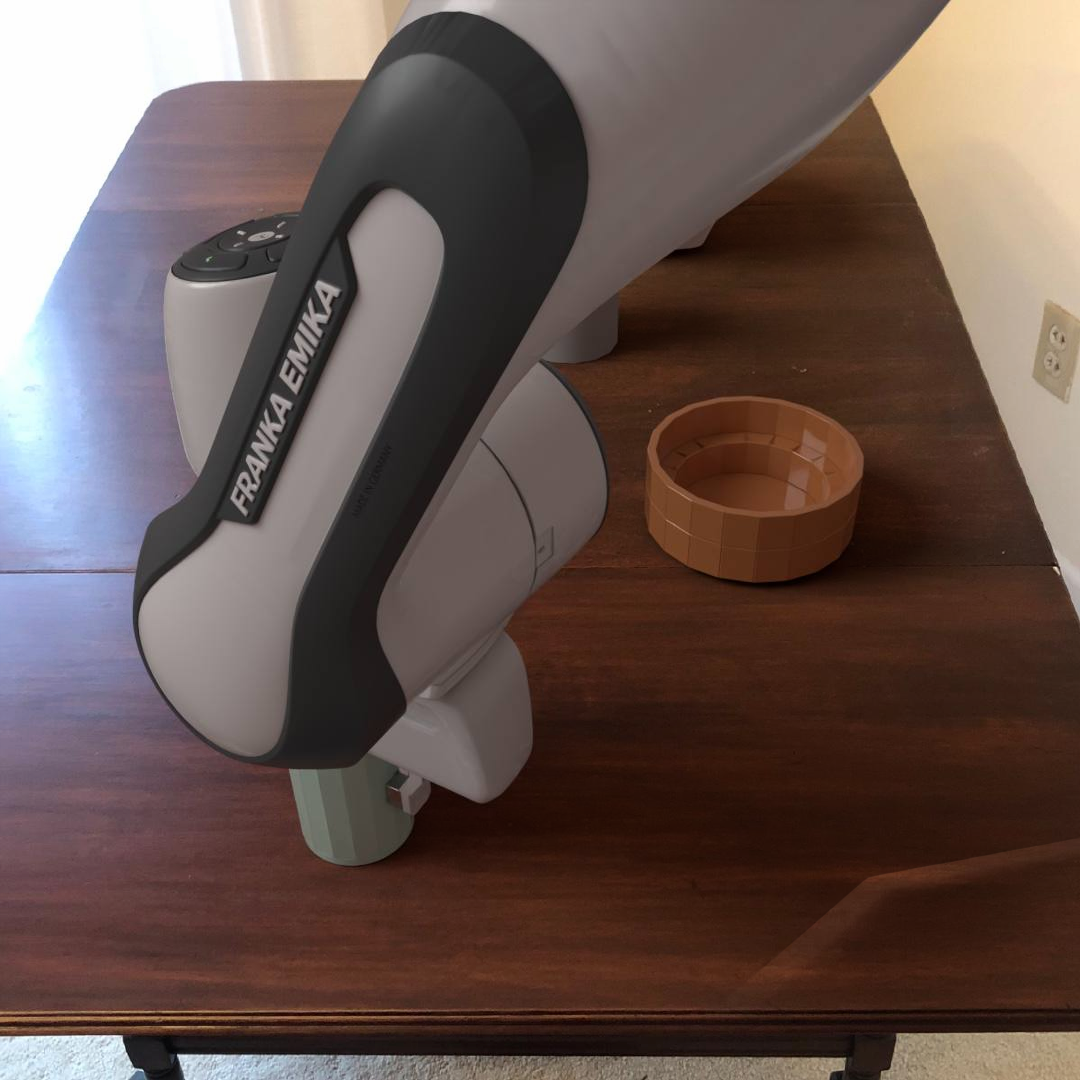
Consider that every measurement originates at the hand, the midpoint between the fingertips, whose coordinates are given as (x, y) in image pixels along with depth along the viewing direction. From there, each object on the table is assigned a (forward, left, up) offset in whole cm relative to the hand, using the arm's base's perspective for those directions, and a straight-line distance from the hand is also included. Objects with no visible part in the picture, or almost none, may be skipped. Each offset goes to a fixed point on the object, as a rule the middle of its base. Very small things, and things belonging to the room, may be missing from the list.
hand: (351, 774), depth 63 cm
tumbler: (0, 0, -4) cm, 4 cm away
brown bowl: (+4, -35, -4) cm, 35 cm away
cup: (+32, -43, -4) cm, 54 cm away
